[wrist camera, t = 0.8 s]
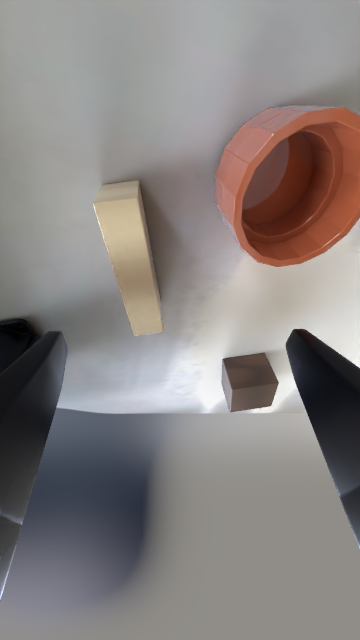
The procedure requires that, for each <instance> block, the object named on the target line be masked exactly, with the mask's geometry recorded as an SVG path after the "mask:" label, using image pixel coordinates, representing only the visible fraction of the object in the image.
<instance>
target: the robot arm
mask: <svg viewBox="0 0 360 640" xmlns="http://www.w3.org/2000/svg"><path fill="white" fill-rule="evenodd" d="M286 350H287V354H288V358H289V361H290V365H291V369H292V373H293V376H294V380H295V383H296V385H297V388H298V391H299V393H300V396H301V398H302V401H303V404H304V406H305V409H306V411H307V414H308V416H309V419H310V422H311V424H312V427H313V429H314V432H315V434H316V437H317V440H318V442H319V445H320V447H321V450H322V453H323V455H324V458H325V460H326V463H327V465H328V468H329V471H330V473H331V476H332V478H333V481H334V483H335V486H336V489H337V491H338V494H339V497H340V499H341V502H342V505H343V507H344V510H345V512H346V515H347V517H348V520H349V523H350V525H351V528H352V530H353V533H354V535H355V538H356V540H357V543H358V545H359V548H360V368H359V367H357V366H356V365H355V364H353V363H352V362H350V361H349V360H348V359H346V358H345V357H343V356H342V355H341V354H339V353H338V352H336V351H335V350H334V349H332V348H331V347H329V346H328V345H327V344H325V343H324V342H322V341H321V340H319V339H318V338H317V337H315V336H314V335H312V334H311V333H310V332H308V331H307V330H305V329H294V330H293V331H292V333H291V334H290V336H289V338H288V340H287V342H286ZM67 351H68V348H67V344H66V341H65V338H64V335H63V333H62V332H61V331H49V332H48V333H46V334H45V335H44V336H43V337H42V338H41V339H39V338H38V337H37V335H36V334H35V332H34V331H33V329H32V328H31V327H30V325H29V324H28V322H27V321H26V320H24V319H16V320H9V321H1V322H0V599H1V595H2V592H3V589H4V585H5V582H6V578H7V575H8V571H9V568H10V565H11V561H12V558H13V554H14V551H15V547H16V544H17V541H18V537H19V534H20V530H21V527H22V525H21V524H22V522H23V519H24V516H25V512H26V509H27V506H28V502H29V499H30V495H31V492H32V488H33V485H34V482H35V478H36V474H37V471H38V468H39V464H40V461H41V457H42V454H43V451H44V447H45V444H46V440H47V437H48V433H49V430H50V426H51V423H52V420H53V416H54V413H55V410H56V406H57V403H58V399H59V396H60V392H61V388H62V383H63V376H64V370H65V364H66V358H67Z"/></svg>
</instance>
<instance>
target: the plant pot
mask: <svg viewBox="0 0 360 640" xmlns="http://www.w3.org/2000/svg"><path fill="white" fill-rule="evenodd" d="M215 202H216V205H217V207H218V210H219V212H220V215H221V217H222V219H223V221H224V222H225V224H226V226H227V227H228V229H229V230H230V231H231V233H232V235H233V236H234V238H235V239H236V241H237V242H238V244H239V245H240V247H241V248H242V249H243V250H244V251H245V252H246V253H247V254H248V255H250V256H251V257H252V258H253V259H254V260H255V261H257V262H259V263H263V264H267V265H271V266H275V267H281V266H288V265H295V264H300V263H303V262H305V261H308V260H310V259H312V258H314V257H316V256H318V255H320V254H323V253H324V252H326V251H327V250H328V249H330V248H331V247H332V246H333V245H335V244H336V243H337V242H338V241H339V240H341V239H342V238H343V237H344V236H345V235H347V233H349V231H350V230H351V229H352V227H353V226H354V225H355V223H356V222H357V221H358V219H359V218H360V115H358V114H356V113H354V112H352V111H350V110H348V109H346V108H344V107H329V106H307V105H288V106H280V107H272V108H268V109H266V110H264V111H263V112H261V113H259V114H258V115H256V116H255V117H253V118H252V119H250V120H248V121H247V122H245V123H244V124H243V125H242V126H241V127H240V129H239V130H238V131H237V133H236V134H235V135H234V137H233V138H232V139H231V140H230V142H229V143H228V144H227V146H226V147H225V149H224V150H223V153H222V156H221V159H220V162H219V165H218V168H217V170H216V173H215Z"/></svg>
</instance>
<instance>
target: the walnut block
mask: <svg viewBox="0 0 360 640" xmlns="http://www.w3.org/2000/svg"><path fill="white" fill-rule="evenodd" d="M278 383H279V382H278V380H277V378H276V376H275V374H274V372H273V370H272V367H271V365H270V363H269V361H268V359H267V357H266V355H265V353H261V354H254V355H247V356H240V357H234V358H227V359H223V362H222V386H223V390H224V394H225V397H226V401H227V404H228V408H229V412H235V411H242V410H248V409H255V408H262V407H268V406H271V405H272V402H273V399H274V396H275V392H276V389H277V386H278Z"/></svg>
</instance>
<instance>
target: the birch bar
mask: <svg viewBox="0 0 360 640" xmlns="http://www.w3.org/2000/svg"><path fill="white" fill-rule="evenodd" d="M93 206H94V209H95V213H96V216H97V219H98V222H99V225H100V229H101V232H102V235H103V238H104V241H105V244H106V248H107V251H108V254H109V257H110V260H111V264H112V267H113V270H114V273H115V276H116V280H117V283H118V286H119V289H120V292H121V295H122V299H123V302H124V305H125V308H126V311H127V315H128V318H129V321H130V324H131V327H132V331H133V334H134V336H138V335H145V334H152V333H159V332H163V331H164V330H163V319H162V308H161V300H160V295H159V289H158V284H157V278H156V273H155V267H154V262H153V256H152V251H151V245H150V240H149V234H148V229H147V223H146V218H145V213H144V207H143V202H142V196H141V191H140V185H139V181H138V180H137V181H129V182H121V183H114V184H106V185H101V187H100V189H99V191H98V194H97V196H96V198H95V200H94V202H93Z"/></svg>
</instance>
